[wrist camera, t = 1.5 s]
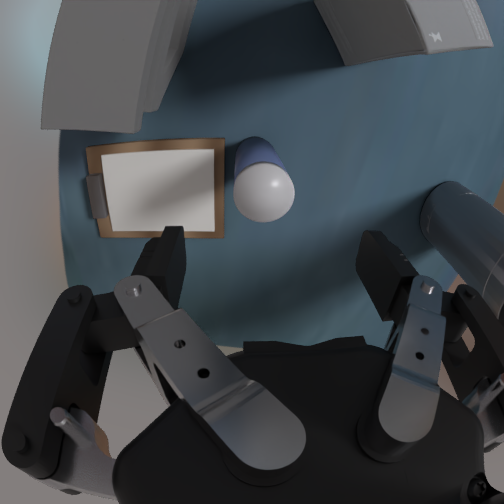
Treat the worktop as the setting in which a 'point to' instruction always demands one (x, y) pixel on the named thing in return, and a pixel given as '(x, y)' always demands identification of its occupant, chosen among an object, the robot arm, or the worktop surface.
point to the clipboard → (94, 152)
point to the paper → (160, 189)
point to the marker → (261, 181)
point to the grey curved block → (112, 62)
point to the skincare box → (402, 27)
